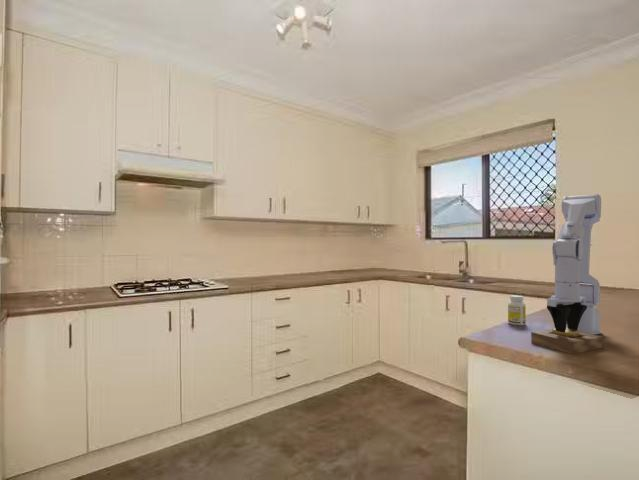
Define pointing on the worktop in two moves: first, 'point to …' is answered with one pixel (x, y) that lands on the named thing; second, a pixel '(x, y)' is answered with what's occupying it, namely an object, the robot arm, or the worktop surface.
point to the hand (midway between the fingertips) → (566, 330)
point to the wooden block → (567, 333)
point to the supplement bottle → (516, 310)
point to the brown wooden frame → (567, 341)
